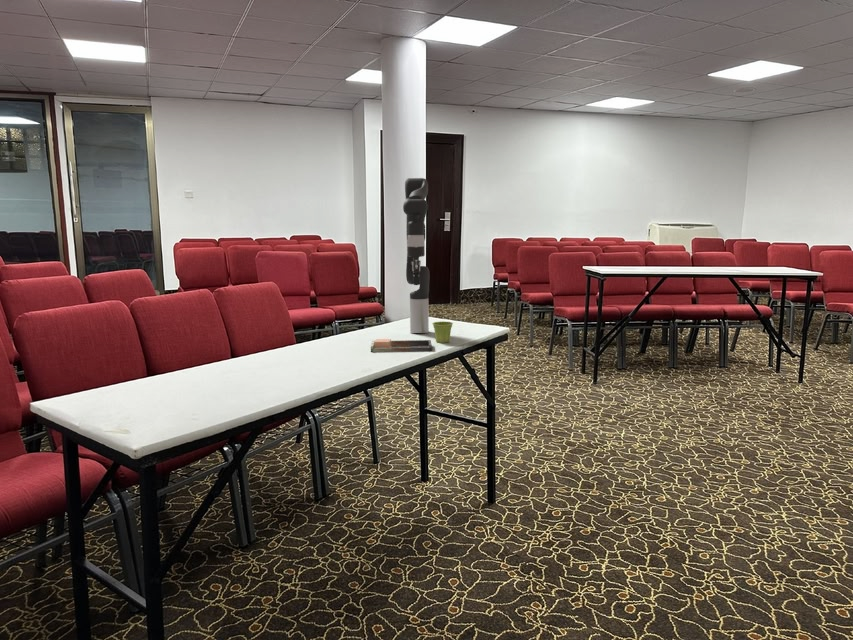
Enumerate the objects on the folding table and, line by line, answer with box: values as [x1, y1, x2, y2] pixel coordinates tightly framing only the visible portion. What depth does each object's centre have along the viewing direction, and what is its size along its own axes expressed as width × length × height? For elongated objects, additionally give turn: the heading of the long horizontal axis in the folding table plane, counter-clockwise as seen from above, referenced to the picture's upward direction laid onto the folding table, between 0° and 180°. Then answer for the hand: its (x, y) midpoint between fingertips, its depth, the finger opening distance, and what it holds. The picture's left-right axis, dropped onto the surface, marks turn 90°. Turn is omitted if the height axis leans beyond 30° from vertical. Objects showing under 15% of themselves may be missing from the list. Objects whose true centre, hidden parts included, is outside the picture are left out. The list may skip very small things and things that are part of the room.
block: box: [374, 338, 392, 348], centre depth 254 cm, size 6×6×4 cm
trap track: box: [370, 339, 433, 353], centre depth 254 cm, size 11×26×2 cm, turn 92°
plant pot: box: [431, 321, 454, 344], centre depth 268 cm, size 9×9×9 cm
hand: (416, 284), depth 258 cm, fingers closed
